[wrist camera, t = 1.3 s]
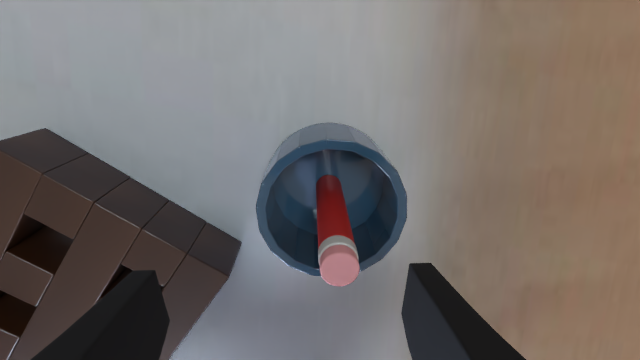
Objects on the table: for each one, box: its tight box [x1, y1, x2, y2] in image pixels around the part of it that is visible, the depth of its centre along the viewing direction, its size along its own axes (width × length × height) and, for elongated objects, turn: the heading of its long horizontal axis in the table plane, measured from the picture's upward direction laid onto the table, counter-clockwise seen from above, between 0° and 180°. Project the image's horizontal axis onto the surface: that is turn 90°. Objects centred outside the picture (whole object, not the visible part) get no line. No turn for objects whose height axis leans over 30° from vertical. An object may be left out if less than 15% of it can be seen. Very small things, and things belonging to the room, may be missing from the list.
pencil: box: [316, 175, 360, 286], centre depth 16 cm, size 1×2×8 cm
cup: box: [256, 123, 407, 276], centre depth 18 cm, size 7×7×4 cm
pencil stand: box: [0, 128, 241, 360], centre depth 20 cm, size 12×12×4 cm
